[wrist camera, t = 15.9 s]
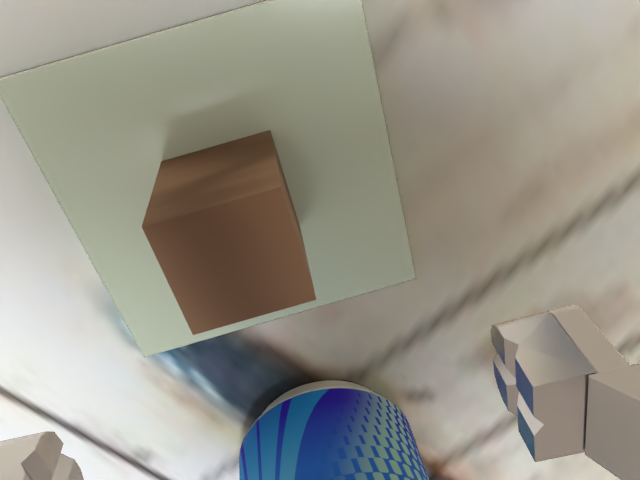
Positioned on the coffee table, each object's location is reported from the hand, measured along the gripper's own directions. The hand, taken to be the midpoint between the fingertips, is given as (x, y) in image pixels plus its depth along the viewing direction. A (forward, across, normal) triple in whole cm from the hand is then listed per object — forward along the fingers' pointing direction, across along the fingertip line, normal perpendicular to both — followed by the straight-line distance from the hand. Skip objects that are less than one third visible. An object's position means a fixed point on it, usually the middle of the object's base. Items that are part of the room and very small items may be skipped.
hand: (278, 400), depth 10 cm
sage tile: (+12, +2, +1) cm, 12 cm away
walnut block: (+12, +2, +1) cm, 12 cm away
